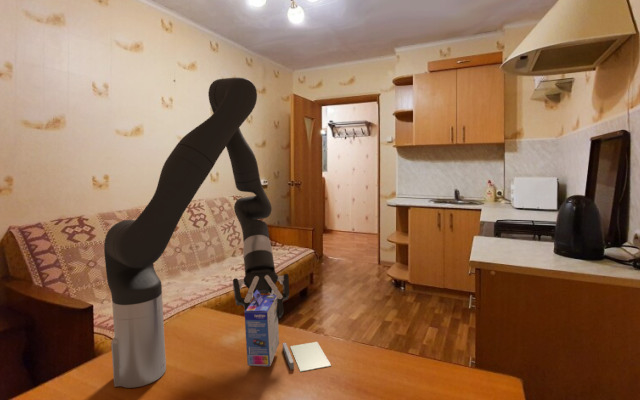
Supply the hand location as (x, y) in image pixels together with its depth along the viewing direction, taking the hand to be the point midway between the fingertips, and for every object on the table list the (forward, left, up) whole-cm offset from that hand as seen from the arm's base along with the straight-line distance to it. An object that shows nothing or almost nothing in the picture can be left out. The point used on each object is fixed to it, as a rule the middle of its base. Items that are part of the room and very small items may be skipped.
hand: (265, 318), depth 78 cm
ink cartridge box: (-1, -2, -8) cm, 8 cm away
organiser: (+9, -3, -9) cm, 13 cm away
